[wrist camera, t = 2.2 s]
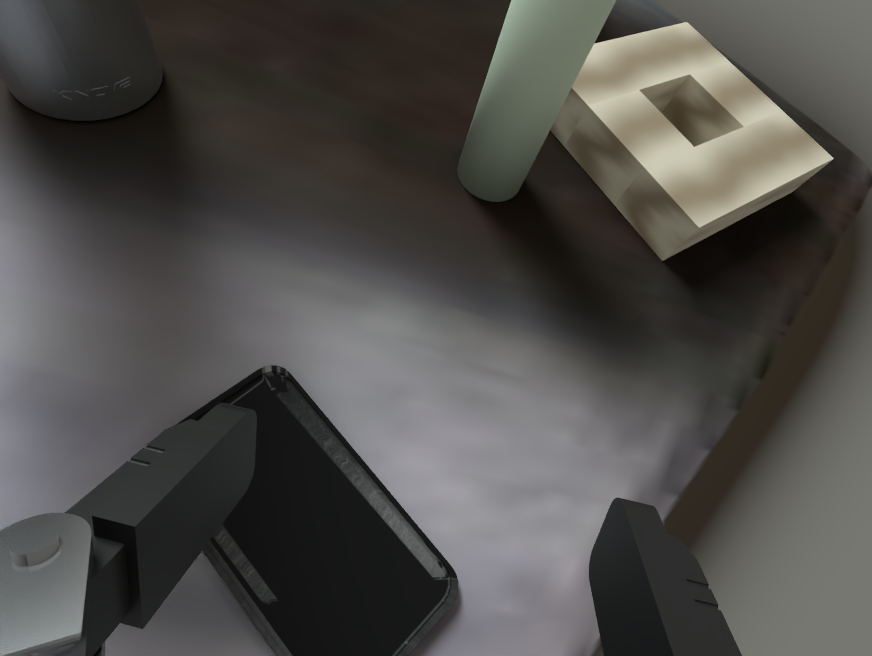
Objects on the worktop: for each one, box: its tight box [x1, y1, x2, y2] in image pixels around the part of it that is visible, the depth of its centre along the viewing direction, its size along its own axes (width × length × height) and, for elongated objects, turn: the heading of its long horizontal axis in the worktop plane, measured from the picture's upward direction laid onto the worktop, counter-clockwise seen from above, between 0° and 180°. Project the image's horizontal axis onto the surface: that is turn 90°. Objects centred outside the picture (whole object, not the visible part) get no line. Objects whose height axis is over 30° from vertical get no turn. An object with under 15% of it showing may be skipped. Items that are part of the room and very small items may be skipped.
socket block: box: [550, 22, 834, 261], centre depth 40 cm, size 18×18×4 cm
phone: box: [176, 365, 458, 656], centre depth 23 cm, size 8×1×15 cm
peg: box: [457, 0, 616, 202], centre depth 29 cm, size 5×5×15 cm
